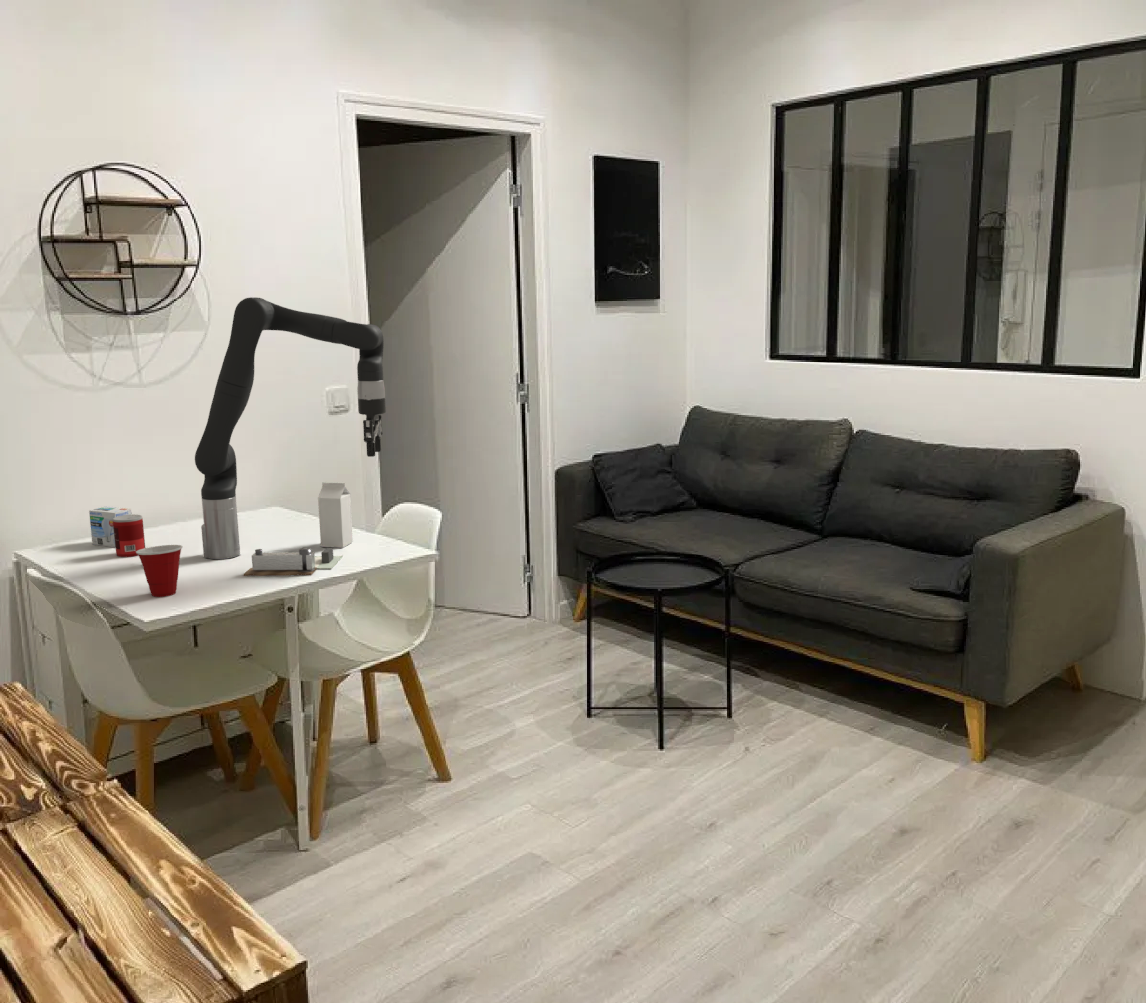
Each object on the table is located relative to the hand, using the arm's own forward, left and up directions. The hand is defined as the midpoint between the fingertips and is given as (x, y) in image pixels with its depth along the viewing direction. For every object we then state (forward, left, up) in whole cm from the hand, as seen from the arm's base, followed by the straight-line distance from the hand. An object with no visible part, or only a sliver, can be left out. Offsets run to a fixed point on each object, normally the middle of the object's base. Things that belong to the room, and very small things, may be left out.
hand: (374, 454), depth 283 cm
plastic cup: (-47, -38, -29) cm, 67 cm away
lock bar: (-22, -19, -28) cm, 40 cm away
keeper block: (-13, -9, -29) cm, 33 cm away
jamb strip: (-23, -19, -29) cm, 42 cm away
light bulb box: (-84, +16, -30) cm, 90 cm away
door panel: (-21, -10, -29) cm, 37 cm away
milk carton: (-15, +12, -30) cm, 35 cm away
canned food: (-73, +3, -30) cm, 79 cm away
